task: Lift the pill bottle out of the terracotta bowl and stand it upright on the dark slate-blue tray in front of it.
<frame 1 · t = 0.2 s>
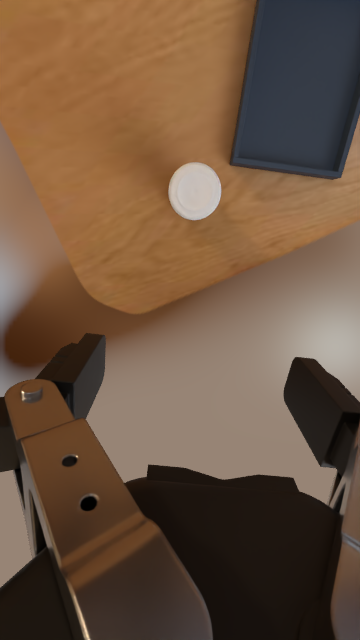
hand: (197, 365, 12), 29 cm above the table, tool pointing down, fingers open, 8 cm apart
sprinkles bottle: (189, 198, 37), on the table
tray: (300, 88, 32), on the table
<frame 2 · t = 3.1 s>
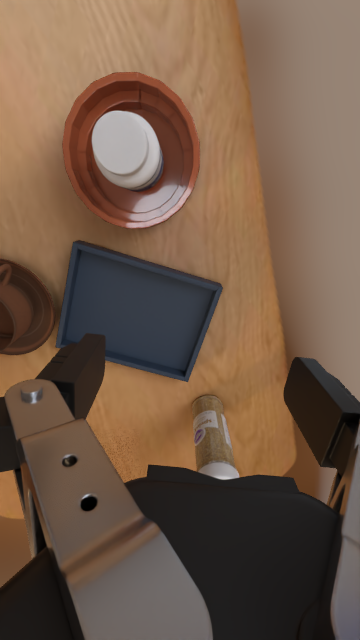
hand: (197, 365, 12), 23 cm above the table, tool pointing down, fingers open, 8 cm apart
sprinkles bottle: (207, 406, 41), on the table
cup and saucer: (12, 304, 35), on the table
bowl: (138, 164, 30), on the table
tray: (138, 313, 36), on the table
pill bottle: (138, 164, 29), resting on bowl
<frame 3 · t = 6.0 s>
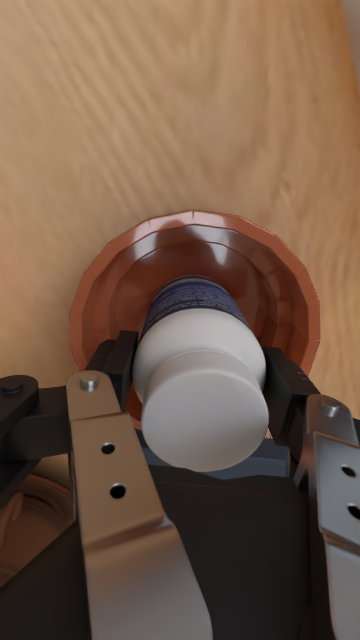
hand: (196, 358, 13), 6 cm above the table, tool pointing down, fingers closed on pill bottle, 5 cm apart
cup and saucer: (32, 507, 25), on the table
bowl: (191, 313, 18), on the table
tray: (211, 495, 24), on the table
pill bottle: (191, 314, 18), resting on bowl, touching gripper
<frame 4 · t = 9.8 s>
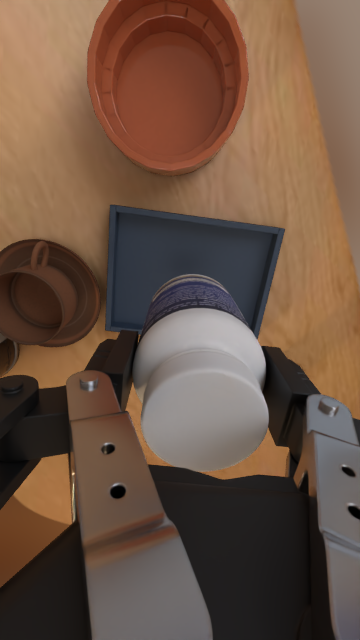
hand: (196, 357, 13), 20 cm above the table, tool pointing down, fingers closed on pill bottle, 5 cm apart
cup and saucer: (52, 291, 32), on the table
bowl: (169, 101, 26), on the table
tray: (188, 278, 32), on the table
pill bottle: (191, 314, 18), point 14 cm above the table, touching gripper
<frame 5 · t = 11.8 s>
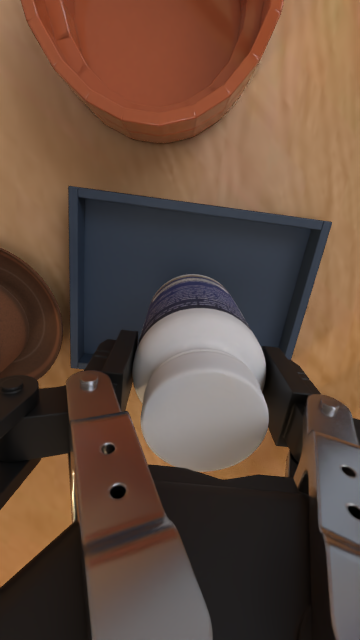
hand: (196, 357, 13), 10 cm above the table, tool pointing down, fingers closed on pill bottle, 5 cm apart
bowl: (157, 23, 17), on the table
tray: (188, 294, 22), on the table
pill bottle: (191, 314, 18), point 5 cm above the table, touching gripper
when the fingers open (6 cm above the table, at t = 13.4 s): pill bottle stays where it is, resting on tray.
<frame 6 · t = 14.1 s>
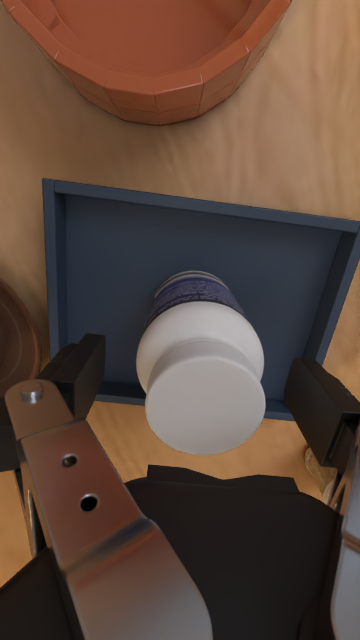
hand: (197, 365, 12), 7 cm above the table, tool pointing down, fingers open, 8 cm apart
sprinkles bottle: (329, 451, 23), on the table
tray: (191, 309, 19), on the table
pill bottle: (192, 309, 18), resting on tray
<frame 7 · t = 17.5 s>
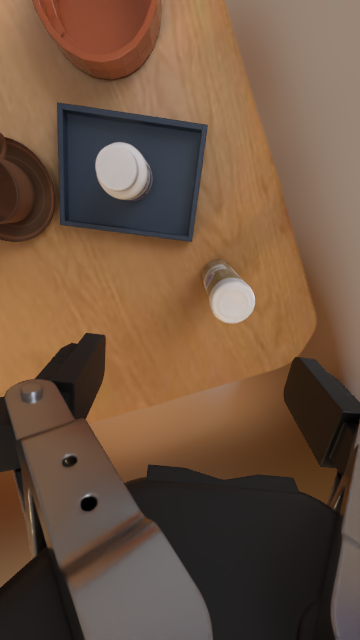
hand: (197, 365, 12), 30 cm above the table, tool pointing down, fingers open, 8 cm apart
sprinkles bottle: (216, 275, 41), on the table
cup and saucer: (14, 193, 37), on the table
bowl: (104, 10, 31), on the table
tray: (132, 179, 37), on the table
pill bottle: (132, 178, 36), resting on tray
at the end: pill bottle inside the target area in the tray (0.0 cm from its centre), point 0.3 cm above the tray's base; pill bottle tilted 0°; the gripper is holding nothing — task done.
